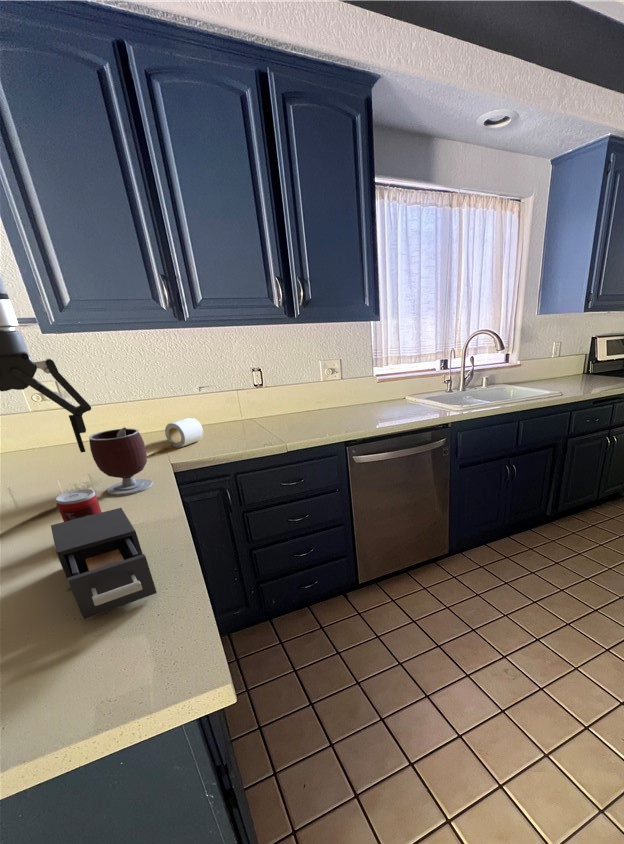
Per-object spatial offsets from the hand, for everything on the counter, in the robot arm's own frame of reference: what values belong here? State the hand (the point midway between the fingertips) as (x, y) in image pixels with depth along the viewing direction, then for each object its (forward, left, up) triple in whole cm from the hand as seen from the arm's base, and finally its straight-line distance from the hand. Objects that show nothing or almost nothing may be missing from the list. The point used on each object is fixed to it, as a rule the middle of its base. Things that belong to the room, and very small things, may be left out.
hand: (38, 458), depth 77 cm
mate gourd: (-20, +48, -25) cm, 57 cm away
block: (+11, -6, -23) cm, 26 cm away
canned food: (-10, +16, -25) cm, 31 cm away
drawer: (+13, -8, -24) cm, 28 cm away
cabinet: (+4, +2, -25) cm, 25 cm away
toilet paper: (-27, +97, -25) cm, 104 cm away
